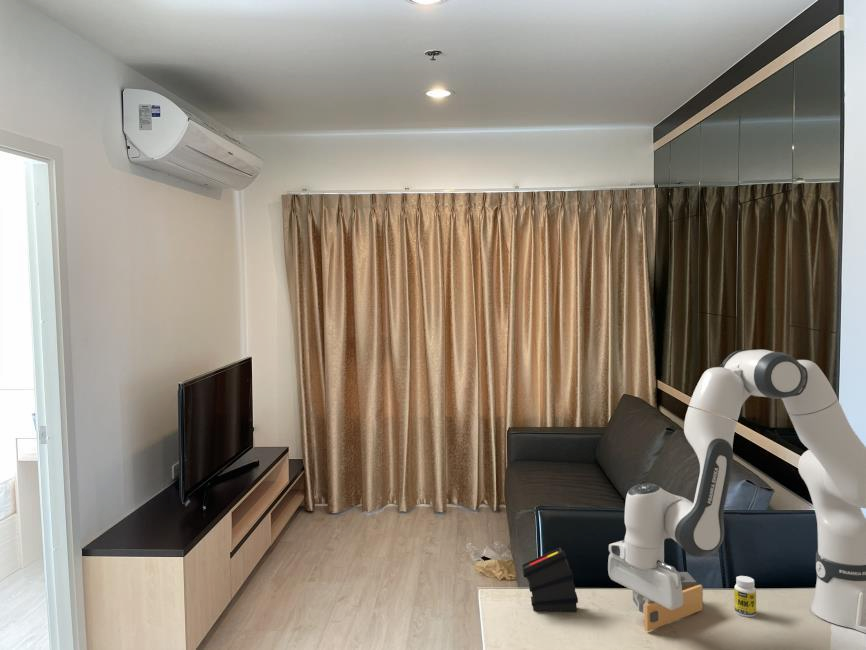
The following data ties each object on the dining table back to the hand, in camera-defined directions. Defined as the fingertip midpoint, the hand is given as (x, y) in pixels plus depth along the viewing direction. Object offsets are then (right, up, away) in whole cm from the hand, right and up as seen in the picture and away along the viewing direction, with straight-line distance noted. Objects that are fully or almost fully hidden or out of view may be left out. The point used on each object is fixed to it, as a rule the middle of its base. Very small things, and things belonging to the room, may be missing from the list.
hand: (643, 612), depth 152 cm
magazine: (-20, -4, +10) cm, 23 cm away
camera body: (+9, -3, +11) cm, 14 cm away
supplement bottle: (+27, -3, +6) cm, 27 cm away
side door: (+8, -3, +2) cm, 9 cm away
